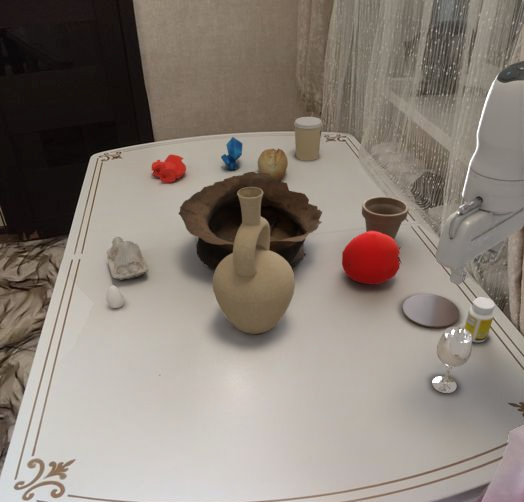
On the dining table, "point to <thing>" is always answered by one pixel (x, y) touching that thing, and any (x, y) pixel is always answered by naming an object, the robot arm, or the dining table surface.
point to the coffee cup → (307, 138)
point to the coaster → (430, 311)
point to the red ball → (371, 258)
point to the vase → (253, 273)
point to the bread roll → (273, 163)
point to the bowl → (230, 217)
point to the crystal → (232, 153)
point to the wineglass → (452, 355)
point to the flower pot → (384, 214)
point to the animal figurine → (169, 168)
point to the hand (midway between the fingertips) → (473, 270)
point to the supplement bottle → (480, 318)
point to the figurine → (125, 259)
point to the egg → (114, 297)
